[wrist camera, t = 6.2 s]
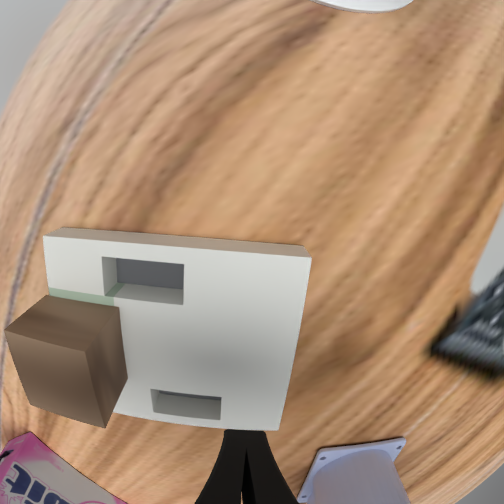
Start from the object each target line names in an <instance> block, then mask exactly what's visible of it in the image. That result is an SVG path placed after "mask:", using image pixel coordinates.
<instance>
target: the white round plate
mask: <svg viewBox="0 0 504 504" xmlns="http://www.w3.org/2000/svg"><path fill="white" fill-rule="evenodd" d="M310 1H313V2H316V3H318V4H322V5H325V6H328V7H332V8H336V9H340V10H345V11H350V12H357V13H386V12H391V11H395V10H398V9H401V8H403V7H405V6H407V5H408V4H409V3H411V2H412V1H413V0H310Z"/></svg>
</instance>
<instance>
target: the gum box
mask: <svg viewBox="0 0 504 504" xmlns="http://www.w3.org/2000/svg"><path fill="white" fill-rule="evenodd" d="M0 504H127V503H125V502H124V501H122V500H120V499H118V498H117V497H115V496H113V495H112V494H110V493H109V492H107V491H106V490H104V489H103V488H101V487H100V486H98V485H97V484H95V483H94V482H92V481H91V480H89V479H88V478H86V477H85V476H83V475H82V474H81V473H79V472H78V471H77V470H75V469H74V468H73V467H72V466H70V465H69V464H68V463H66V462H65V461H64V460H63V459H61V458H60V457H59V456H58V455H57V454H55V453H54V452H53V451H52V450H50V449H49V448H48V447H47V446H46V445H44V444H43V443H42V442H41V441H40V440H39V439H38V438H37V437H36V436H35V435H34V434H33V433H31V432H29V433H26V434H24V435H21V436H19V437H16V438H14V439H12V440H10V441H8V443H7V444H6V446H5V447H4V449H3V451H2V452H1V454H0Z"/></svg>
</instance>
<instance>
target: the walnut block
mask: <svg viewBox="0 0 504 504" xmlns="http://www.w3.org/2000/svg"><path fill="white" fill-rule="evenodd" d="M4 332H5V336H6V339H7V342H8V346H9V349H10V352H11V355H12V358H13V361H14V364H15V367H16V370H17V372H18V375H19V378H20V380H21V383H22V386H23V388H24V391H25V393H26V396H27V398H28V400H29V403H30V405H33V406H36V407H38V408H41V409H44V410H46V411H49V412H52V413H55V414H58V415H61V416H64V417H67V418H70V419H73V420H77V421H80V422H84V423H87V424H91V425H94V426H98V427H102V428H106V426H107V423H108V421H109V419H110V417H111V414H112V412H113V410H114V408H115V406H116V403H117V401H118V399H119V397H120V395H121V392H122V390H123V388H124V386H125V384H126V382H127V380H128V374H127V368H126V361H125V354H124V347H123V339H122V331H121V321H120V311H119V307H116V306H109V305H103V304H96V303H90V302H84V301H78V300H72V299H66V298H60V297H55V296H49V295H46V296H44V297H43V298H42V299H41V300H39V301H38V302H37V303H36V304H34V305H33V306H32V307H31V308H30V309H28V310H27V311H26V312H25V313H23V314H22V315H21V316H20V317H19V318H17V319H16V320H15V321H14V322H13V323H11V324H10V325H9V326H8V327H7V328H6V329H4Z"/></svg>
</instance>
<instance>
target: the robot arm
mask: <svg viewBox="0 0 504 504" xmlns="http://www.w3.org/2000/svg"><path fill="white" fill-rule="evenodd" d="M405 443H406V439H405V438H398V439H392V440H387V441H381V442H374V443H367V444H360V445H352V446H343V447H332V448H323V449H320V450H319V451H318V452H317V455H316V457H315V460H314V462H313V464H312V466H311V469H310V471H309V473H308V475H307V478H306V480H305V482H304V484H303V486H302V488H301V490H300V493H299V495H298V497H297V500H296V498H295V496H294V495H293V493H292V492H291V490H290V488H289V487H288V485H287V483H286V481H285V479H284V477H283V476H282V474H281V472H280V470H279V468H278V466H277V463H276V461H275V459H274V457H273V454H272V452H271V449H270V446H269V443H268V440H267V437H266V433H265V432H264V431H257V430H235V429H227V430H225V431H224V438H223V442H222V446H221V449H220V452H219V455H218V458H217V461H216V463H215V465H214V468H213V470H212V472H211V474H210V477H209V479H208V481H207V482H206V484H205V486H204V488H203V490H202V492H201V494H200V495H199V497H198V499H197V500H196V502H195V504H241V491H242V500H243V504H299V503H304V502H307V504H411V503H410V501H409V498H408V496H407V493H406V491H405V489H404V486H403V484H402V482H401V479H400V477H399V475H398V472H397V470H396V468H395V466H394V463H393V462H394V460H395V459H396V457H397V456H398V454H399V453H400V451H401V450H402V448H403V447H404V445H405Z"/></svg>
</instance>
